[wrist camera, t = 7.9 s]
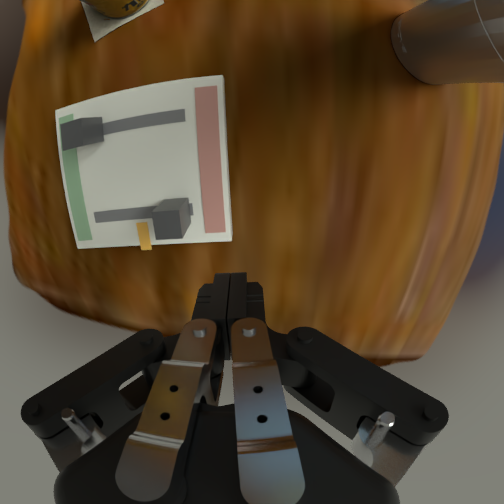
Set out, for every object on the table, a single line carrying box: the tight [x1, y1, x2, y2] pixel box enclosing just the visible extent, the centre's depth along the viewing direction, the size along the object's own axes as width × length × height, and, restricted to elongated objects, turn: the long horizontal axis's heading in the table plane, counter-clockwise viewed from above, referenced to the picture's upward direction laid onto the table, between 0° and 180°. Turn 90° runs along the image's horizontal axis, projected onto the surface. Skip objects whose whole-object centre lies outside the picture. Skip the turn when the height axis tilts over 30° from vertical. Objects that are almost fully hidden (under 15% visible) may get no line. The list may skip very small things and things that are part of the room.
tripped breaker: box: [151, 198, 191, 240], centre depth 25 cm, size 2×2×4 cm
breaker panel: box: [55, 75, 233, 250], centre depth 26 cm, size 18×16×2 cm
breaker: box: [60, 117, 104, 151], centre depth 21 cm, size 2×2×4 cm
